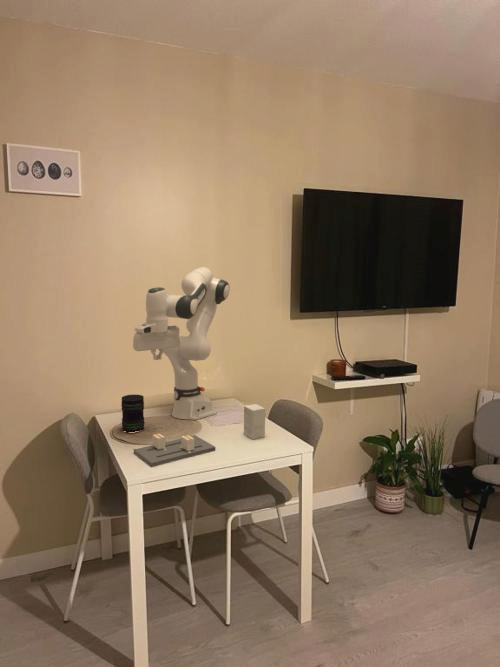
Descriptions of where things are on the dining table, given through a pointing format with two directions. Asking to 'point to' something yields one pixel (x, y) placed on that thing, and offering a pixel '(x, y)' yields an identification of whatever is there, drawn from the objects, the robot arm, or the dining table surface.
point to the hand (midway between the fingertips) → (157, 359)
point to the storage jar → (132, 413)
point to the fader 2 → (187, 442)
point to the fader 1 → (158, 441)
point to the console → (172, 451)
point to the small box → (254, 421)
